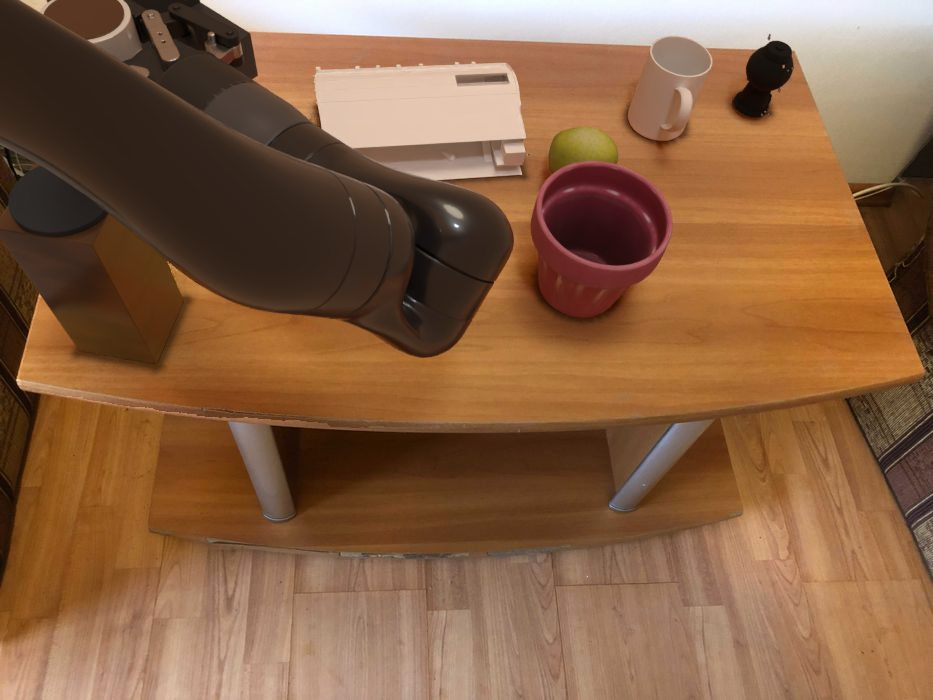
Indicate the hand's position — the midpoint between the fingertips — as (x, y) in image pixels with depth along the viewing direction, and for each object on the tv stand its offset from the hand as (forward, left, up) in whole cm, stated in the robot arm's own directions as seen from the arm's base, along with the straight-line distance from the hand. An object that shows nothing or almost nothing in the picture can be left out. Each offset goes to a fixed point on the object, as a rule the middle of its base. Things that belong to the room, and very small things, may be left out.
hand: (71, 26), depth 53 cm
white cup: (+2, -1, -7) cm, 7 cm away
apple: (+42, +25, -32) cm, 59 cm away
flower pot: (+43, +9, -32) cm, 54 cm away
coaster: (-3, -6, -13) cm, 14 cm away
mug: (+52, +37, -32) cm, 72 cm away
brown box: (-3, -6, -32) cm, 32 cm away
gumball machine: (+65, +45, -32) cm, 86 cm away
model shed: (+21, +29, -32) cm, 48 cm away
